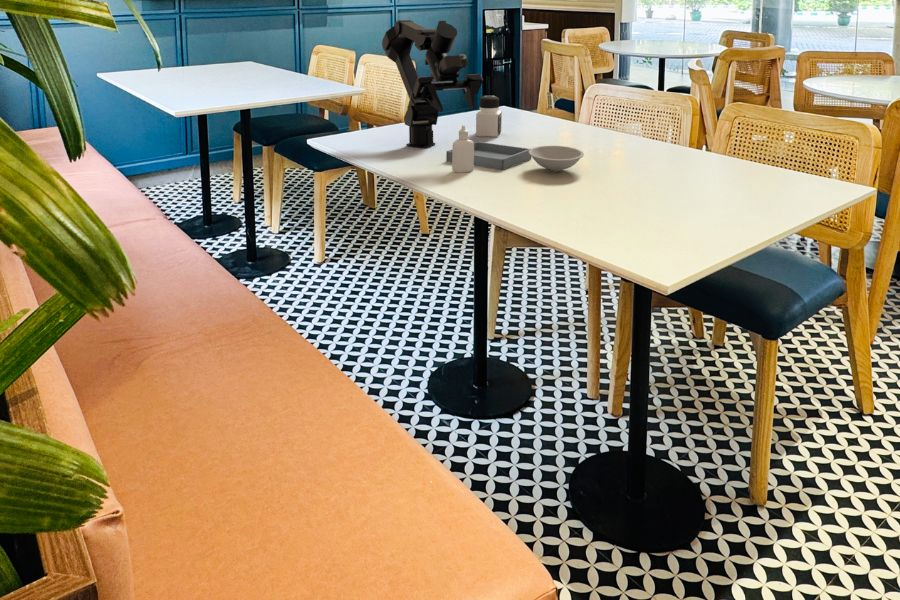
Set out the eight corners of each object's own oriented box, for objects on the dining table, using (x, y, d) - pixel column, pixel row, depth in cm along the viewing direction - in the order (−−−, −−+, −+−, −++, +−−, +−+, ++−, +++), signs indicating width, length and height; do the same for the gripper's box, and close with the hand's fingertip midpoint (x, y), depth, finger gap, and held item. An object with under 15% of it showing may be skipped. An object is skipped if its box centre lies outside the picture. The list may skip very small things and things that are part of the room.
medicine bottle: (498, 137, 260) (499, 98, 255) (475, 136, 261) (476, 97, 257) (501, 133, 266) (502, 95, 262) (479, 132, 268) (480, 94, 263)
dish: (525, 163, 227) (526, 145, 225) (577, 163, 227) (579, 145, 225) (530, 179, 211) (531, 159, 209) (587, 179, 210) (588, 160, 209)
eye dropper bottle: (452, 169, 220) (452, 123, 216) (473, 169, 220) (474, 124, 215) (452, 173, 216) (452, 127, 212) (473, 173, 216) (474, 127, 211)
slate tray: (446, 161, 229) (446, 151, 228) (477, 151, 241) (477, 141, 240) (502, 170, 219) (502, 159, 218) (531, 158, 232) (531, 149, 231)
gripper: (415, 45, 216) (432, 91, 210) (479, 42, 223) (498, 87, 217) (405, 75, 225) (422, 120, 219) (467, 72, 232) (485, 115, 226)
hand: (457, 109), depth 220 cm, fingers open, 9 cm apart
